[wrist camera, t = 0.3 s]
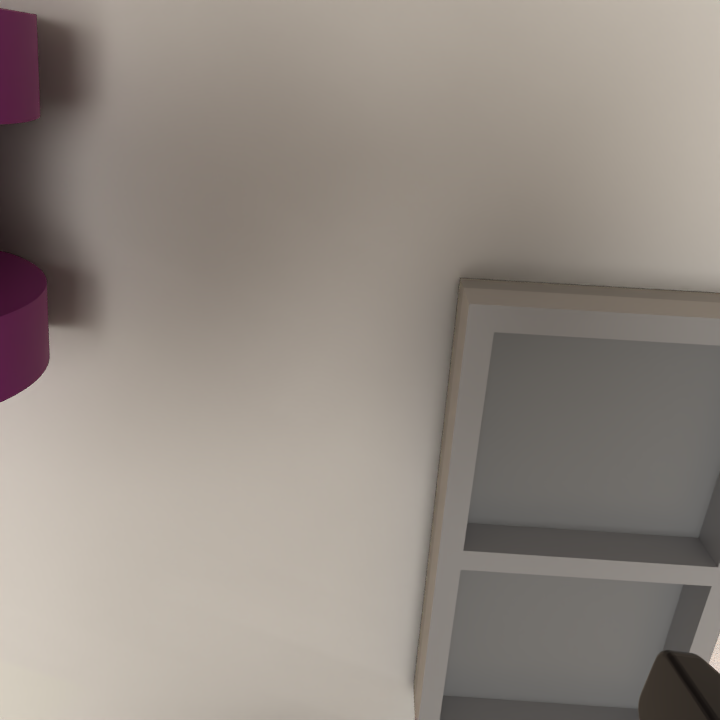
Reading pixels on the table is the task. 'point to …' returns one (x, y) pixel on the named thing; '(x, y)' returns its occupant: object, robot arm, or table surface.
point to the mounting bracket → (5, 270)
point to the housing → (571, 501)
